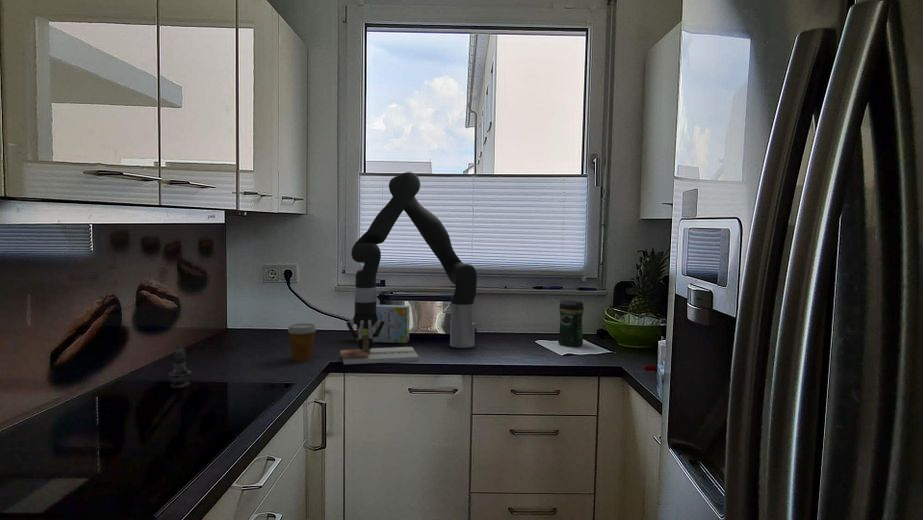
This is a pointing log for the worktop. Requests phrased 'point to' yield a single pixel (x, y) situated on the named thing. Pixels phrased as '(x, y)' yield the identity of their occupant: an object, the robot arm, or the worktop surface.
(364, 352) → the stub
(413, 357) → the board
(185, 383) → the dark grey tiered piece
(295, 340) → the disposable coffee cup
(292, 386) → the worktop surface
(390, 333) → the snack box
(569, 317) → the coffee jar
